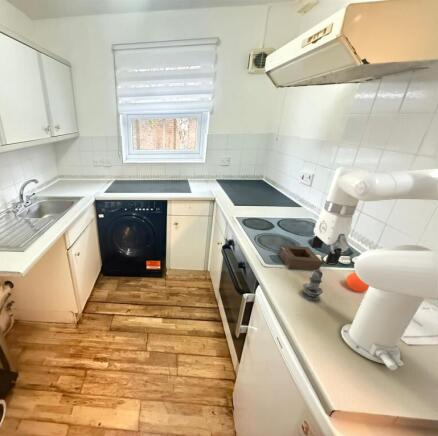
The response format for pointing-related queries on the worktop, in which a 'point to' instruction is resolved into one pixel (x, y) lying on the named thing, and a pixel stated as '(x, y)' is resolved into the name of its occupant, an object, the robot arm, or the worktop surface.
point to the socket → (299, 258)
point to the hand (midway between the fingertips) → (323, 254)
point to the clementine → (356, 283)
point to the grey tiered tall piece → (313, 286)
